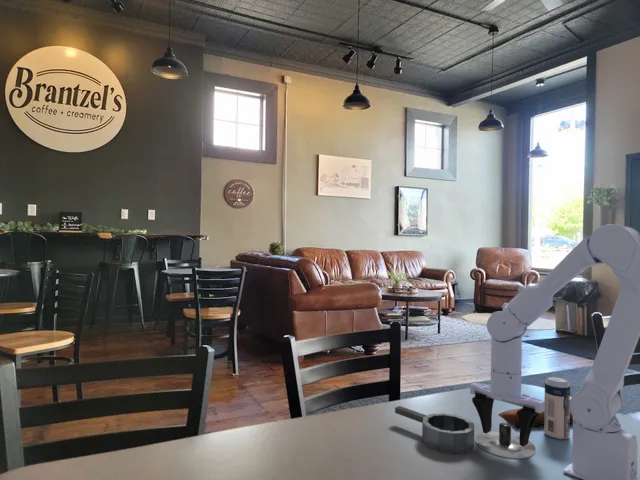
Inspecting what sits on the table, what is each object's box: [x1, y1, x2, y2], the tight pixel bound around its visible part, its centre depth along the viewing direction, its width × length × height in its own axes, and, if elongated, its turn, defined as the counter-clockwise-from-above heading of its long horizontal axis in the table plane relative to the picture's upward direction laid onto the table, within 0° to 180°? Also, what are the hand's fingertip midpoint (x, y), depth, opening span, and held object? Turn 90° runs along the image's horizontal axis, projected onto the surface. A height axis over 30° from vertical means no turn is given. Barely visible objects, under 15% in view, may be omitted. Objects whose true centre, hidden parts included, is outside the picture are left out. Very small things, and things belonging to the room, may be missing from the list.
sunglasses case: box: [498, 407, 573, 428], centre depth 104 cm, size 18×7×7 cm, turn 100°
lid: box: [474, 422, 537, 459], centre depth 91 cm, size 11×11×4 cm
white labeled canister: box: [543, 376, 571, 440], centre depth 96 cm, size 5×5×12 cm
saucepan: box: [394, 405, 475, 455], centre depth 95 cm, size 18×10×4 cm, turn 42°
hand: (504, 438), depth 91 cm, fingers open, 7 cm apart
